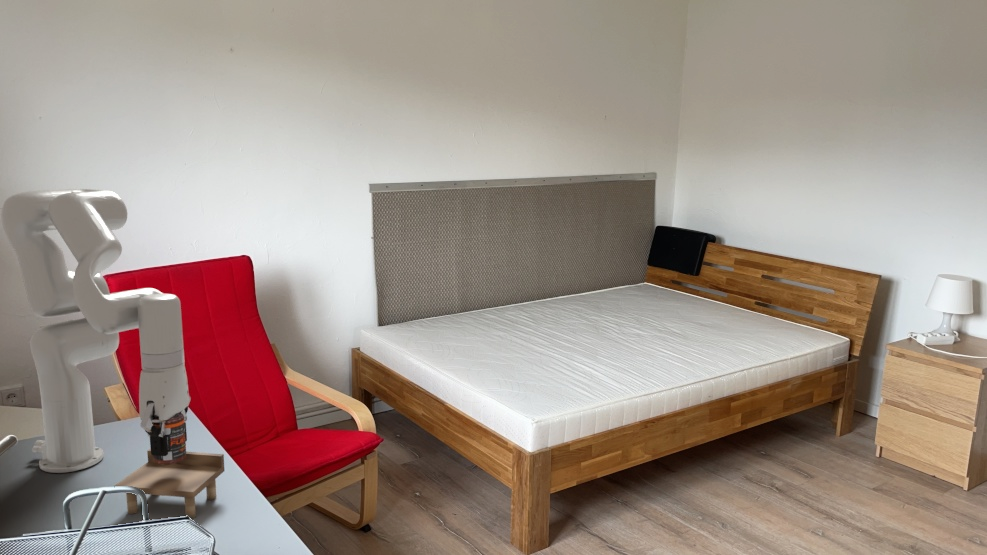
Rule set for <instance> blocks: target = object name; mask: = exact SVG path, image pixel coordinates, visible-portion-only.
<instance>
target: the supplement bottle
mask: <svg viewBox="0 0 987 555" xmlns="http://www.w3.org/2000/svg"><path fill="white" fill-rule="evenodd" d="M155 419H158V420H159V417H158V416H155ZM185 423H186V422H184V415H183V414H182V413H180V412H179V413H176V414H175V415H174V416H173V417H171V418H169V419H168V420H166V426H165V433H164V435H167V446H168V455H166V456H156V455H153V457H154V461H155V462H156V463H158V464H163V465H170V464H175V463H178V462H181V461H182V460H184V459H185V457H186V452H187V441H186V440H185ZM155 426H156V427H157V428H158V429H159V426H160V423H155Z"/></svg>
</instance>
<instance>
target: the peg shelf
mask: <svg viewBox="0 0 987 555" xmlns="http://www.w3.org/2000/svg"><path fill="white" fill-rule="evenodd" d="M146 452H147V462H146V463H144V464H143V465H141V466H140V467H139V468H138V469H136V470H135V471H132V472H131V473H130V474H129V475H128V476H126V477H124V478H123V479H121V481H119V482H118V483H116V484H115V485H114V487H115V486H133V487H137V488H139V489H141V490H143V491H144V492H145V494H144V495H152V496H165V497H178V498H184V509H185V510H184V512H185V516H186V515H188V516H189V517H190V518H192V519H195V518H196V516H197V515H196V514H197V513H196V497H197V496H198V495H199V494H200V493H201V492H202V491H203V490H205V488H206V491H205V492H206V499H207V500H209V501H210V500H211V501H212V500H215V499H216V498H217V485H216V481H217V480H216V479H217V478H218V477H220V475H222V474H223V473H224V472H225V456H224V455H225V454H223V453H210V452H196V451H186V457H185V459H184V460H182V461H181V462H178V463H175V464H170V465H163V464H158V463H156V462H155V461H154V457H153V455H152V454H151V448H149V449H148V450H147V451H146ZM125 495H126V509H127V514H128V515H133V514H137V513H138V512H139V508H138V507H139V506H138V505H139V504H138V494H137V495H135V494H132V493H126V492H125ZM192 519H191V520H192Z"/></svg>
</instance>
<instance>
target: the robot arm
mask: <svg viewBox="0 0 987 555" xmlns="http://www.w3.org/2000/svg"><path fill="white" fill-rule="evenodd" d="M127 220H128V209H127V206H126V204H125V202H124V200H123V199H122V198H121V197H120V195H118V194H117V193H116V192H114V191H111V190H103V189H102V190H100V189H90V188H88V189H87V188H72V189H71V188H69V189H50V190H49V189H45V190H30V191H24V192H19V193H18V192H17V193H15V194H12V195H10V196H9V197H7V198H6V200H4V202H3V204H2V207H1V223H2V227H3V231H4V233H5V235H6V237H7V240H8V241H9V244H11V247H12V249H13V250H14V253H15V255H16V257H17V260H18V264H19V269H20V273H21V277H22V282H23V287H24V290H25V294H26V295H25V296H26V299H27V303H28V306H29V308H30V310H31V312H32V313H33V315H34V316H35V317H38V318H43V319H47V318H56V317H63V316H67V315H73V314H79V313H81V314H82V316H83V317H82V318H77V319H71V320H67V321H66V320H65V321H60V322H56V323H51V324H48V325H45V326H43V327H40V328H38V329H37V330H35V332H33V334H32V335H31V338H30V340H29V345H30V346H29V347H30V348H29V349H30V351H31V352H30V353H31V356H32V358H33V363H34V366H35V369H36V374H37V379H38V383H39V384H38V385H39V394H40V401H41V413H42V424H43V433H44V439H43V440H40V439H37V440H36V441H35V442H34V443H33V444H34V445H33V447H32V448H31V452H32V453H38V454H39V453H41V456H42V457H41V458H40V459H39V461H38V465H39V469H40V470H42V471H43V472H46V473H52V474H54V473H55V474H56V473H57V474H62V473H63V474H64V473H70V472H71V473H72V472H76V471H77V472H78V471H80V470H84V469H87V468H90V467H92V466H94V465H97V464H98V463H100V461H102V460H103V459H104V450H103V449H102V448H101V447H98V446H96V443H95V439H96V438H95V430H94V429H95V428H94V418H93V417H94V416H93V407H92V405H93V404H92V394H91V385H90V382H89V379H88V377H87V376H86V375H85V374H84V373H83V372H82V371H81V370H79V369H78V365H79V364H82V363H85V362H90V361H94V360H98V359H102V358H105V357H109V356H111V355H112V354H115V352H116V351H117V349H118V348H119V344H120V334H119V333H121V332H126V331H129V330H135V329H138V331H139V333H138V334H139V346H140V358H141V362H140V363H141V369H142V370H141V371H140V376H139V384H138V385H139V386H138V388H139V389H138V392H139V393H138V404H139V405H138V407H139V419H140V420H141V422H140V428H142V429H143V430H144V432H146V433H147V437H149V442H150V443H149V445H150V449H151V454H152V455H156V456H166V455H168V446H167V435H164V433H165V426H166V420H168V419H169V418H171V417H173V416H174V415H175V414H176V413H179V412H180V413H182V414H183V415H184V422H185V440H186V442H187V440H188V439H187V438H188V436H187V433H188V432H187V420H188V416H187V413H188V411H189V405H190V402H191V399H192V398H191V396H190V393H189V384H188V376H187V371H186V366H185V350H184V335H183V333H184V332H183V319H182V309H181V308H182V307H181V306H182V305H181V304H182V303H181V300H180V298H179V297H178V296H177V295H176V294H173V293H164V292H161V291H160V290H159V289H156V288H153V287H141V288H137V289H130V290H122V291H117V292H111V293H110V289H109V286H108V283H107V281H106V279H105V277H104V276H103V275H102V274H101V272H103V271H105V270H106V269H108V268H110V267H111V266H112V265H114V264H115V263H116V262H117V261H118V260H119V258H120V257H121V255H122V251H123V246H122V244H121V242H120V241H119V239H118V238H117V236H116V235H115V234H114V232H113V231H116V230H119V229H121V228H123V227H124V226H125V224H126V223H127ZM46 231H47V232H48V231H57V232H58V234H59V235H60V237H61V239H62V240H63V242H64V243H65V244H66V246H67V248H68V249H69V250H70V253H71V254H72V256H73V257H74V259H75V261H76V262H77V263H78V264H77V265H76V268H75V269H73V270H72V269H71V270H69V269H68V268H67V264H66V259H65V254H64V251H63V250H62V248H61V247H60V245H59V244H58V243H57V242H56V240H54V239H53V238H52V237H51V236H49V235H48V234H46V233H44V232H46ZM155 416H158V417H159V420H158V419H155ZM155 423H160V426H159V429H158V428H157V427H156V426H155Z"/></svg>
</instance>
